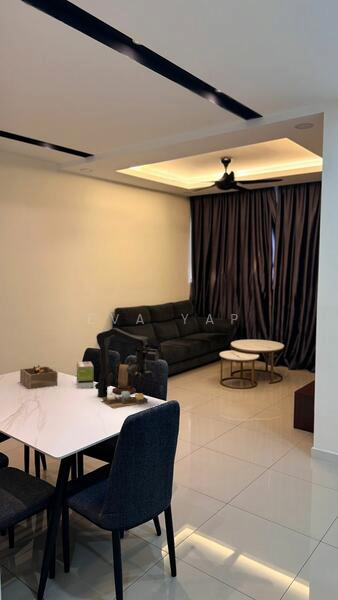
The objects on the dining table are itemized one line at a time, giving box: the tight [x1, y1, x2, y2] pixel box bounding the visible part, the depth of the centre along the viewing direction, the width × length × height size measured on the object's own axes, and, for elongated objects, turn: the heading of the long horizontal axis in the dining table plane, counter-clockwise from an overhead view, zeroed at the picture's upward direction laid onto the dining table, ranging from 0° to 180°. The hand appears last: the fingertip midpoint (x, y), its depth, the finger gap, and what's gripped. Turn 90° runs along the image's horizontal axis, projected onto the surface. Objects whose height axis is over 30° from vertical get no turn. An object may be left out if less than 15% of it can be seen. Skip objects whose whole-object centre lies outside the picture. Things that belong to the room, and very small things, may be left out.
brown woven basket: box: [111, 361, 137, 396], centre depth 260 cm, size 15×15×20 cm
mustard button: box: [134, 392, 145, 400], centre depth 240 cm, size 5×5×4 cm
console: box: [100, 396, 149, 410], centre depth 239 cm, size 16×23×3 cm
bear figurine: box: [32, 364, 44, 374], centre depth 278 cm, size 14×15×12 cm
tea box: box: [76, 361, 95, 389], centre depth 277 cm, size 15×10×15 cm, turn 17°
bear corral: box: [19, 366, 59, 390], centre depth 277 cm, size 20×18×9 cm
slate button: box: [120, 391, 131, 400], centre depth 239 cm, size 5×5×4 cm
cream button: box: [107, 392, 117, 400], centre depth 238 cm, size 5×5×4 cm
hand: (140, 386), depth 240 cm, fingers closed
